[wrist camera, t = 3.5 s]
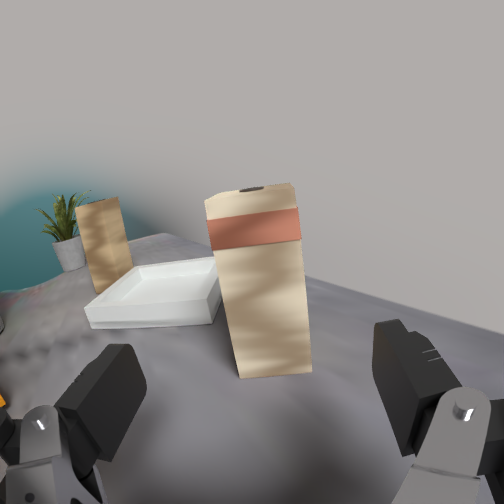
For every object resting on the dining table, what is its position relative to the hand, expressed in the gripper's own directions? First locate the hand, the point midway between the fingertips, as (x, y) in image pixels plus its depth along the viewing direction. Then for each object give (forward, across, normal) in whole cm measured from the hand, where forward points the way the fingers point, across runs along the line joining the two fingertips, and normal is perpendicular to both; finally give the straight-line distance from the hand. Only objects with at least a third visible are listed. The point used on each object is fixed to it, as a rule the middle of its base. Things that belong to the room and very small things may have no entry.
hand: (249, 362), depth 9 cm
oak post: (+27, +22, +7) cm, 36 cm away
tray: (+21, +12, +6) cm, 25 cm away
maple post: (+9, 0, +6) cm, 11 cm away
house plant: (+42, +40, +7) cm, 59 cm away
